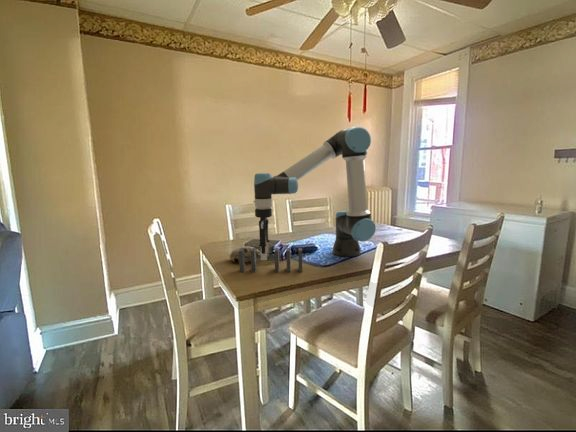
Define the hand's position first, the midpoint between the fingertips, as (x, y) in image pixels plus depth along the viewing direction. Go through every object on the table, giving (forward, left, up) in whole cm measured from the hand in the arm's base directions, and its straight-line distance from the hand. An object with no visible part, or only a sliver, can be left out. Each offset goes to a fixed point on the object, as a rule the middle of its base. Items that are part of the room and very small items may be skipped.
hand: (264, 257), depth 141 cm
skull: (+12, -14, -6) cm, 19 cm away
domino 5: (-16, 0, -6) cm, 18 cm away
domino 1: (+11, 0, -6) cm, 12 cm away
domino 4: (-11, 0, -6) cm, 13 cm away
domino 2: (+5, 0, -6) cm, 8 cm away
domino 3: (-6, 0, -6) cm, 8 cm away
